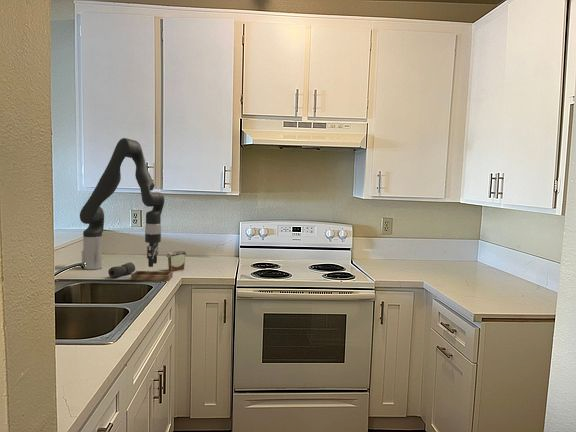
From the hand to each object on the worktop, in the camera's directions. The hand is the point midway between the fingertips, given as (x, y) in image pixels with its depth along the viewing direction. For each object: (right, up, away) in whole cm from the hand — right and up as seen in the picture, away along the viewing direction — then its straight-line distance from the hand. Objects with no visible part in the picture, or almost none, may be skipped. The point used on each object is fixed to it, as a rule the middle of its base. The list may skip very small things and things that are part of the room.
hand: (152, 265), depth 233 cm
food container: (+5, -5, +22) cm, 23 cm away
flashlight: (-19, -8, -2) cm, 20 cm away
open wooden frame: (0, -7, +1) cm, 7 cm away
